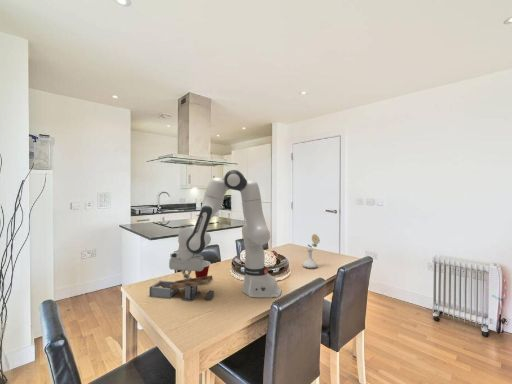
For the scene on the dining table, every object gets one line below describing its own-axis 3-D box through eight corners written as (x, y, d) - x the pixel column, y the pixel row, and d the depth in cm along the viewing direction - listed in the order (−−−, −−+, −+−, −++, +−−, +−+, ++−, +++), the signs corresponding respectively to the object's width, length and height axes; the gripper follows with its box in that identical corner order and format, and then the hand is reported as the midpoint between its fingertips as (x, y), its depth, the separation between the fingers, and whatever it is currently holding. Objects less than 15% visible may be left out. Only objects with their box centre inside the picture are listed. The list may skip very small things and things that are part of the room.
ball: (161, 292, 144) (165, 288, 143) (158, 294, 141) (162, 290, 140) (158, 288, 144) (161, 284, 144) (154, 290, 141) (158, 286, 141)
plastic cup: (197, 286, 152) (197, 266, 152) (190, 281, 161) (190, 262, 161) (213, 282, 159) (213, 263, 158) (205, 277, 167) (205, 259, 167)
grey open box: (178, 290, 145) (179, 282, 145) (169, 298, 136) (169, 289, 135) (159, 289, 148) (159, 280, 148) (149, 296, 138) (149, 287, 138)
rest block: (213, 296, 139) (213, 290, 139) (210, 300, 134) (210, 294, 134) (209, 296, 139) (209, 290, 139) (206, 300, 134) (206, 294, 134)
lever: (217, 275, 147) (216, 270, 147) (207, 284, 133) (206, 279, 133) (182, 280, 151) (181, 276, 151) (170, 289, 137) (169, 285, 137)
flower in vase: (306, 270, 185) (306, 235, 184) (299, 265, 196) (300, 232, 195) (322, 268, 188) (323, 235, 187) (315, 264, 199) (315, 232, 199)
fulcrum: (200, 292, 143) (200, 279, 143) (192, 301, 133) (192, 287, 132) (190, 291, 145) (190, 278, 144) (181, 300, 134) (181, 286, 134)
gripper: (205, 253, 148) (205, 276, 148) (173, 251, 152) (173, 274, 152) (201, 256, 141) (201, 280, 142) (167, 254, 145) (167, 278, 146)
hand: (186, 277), depth 147 cm, fingers closed
